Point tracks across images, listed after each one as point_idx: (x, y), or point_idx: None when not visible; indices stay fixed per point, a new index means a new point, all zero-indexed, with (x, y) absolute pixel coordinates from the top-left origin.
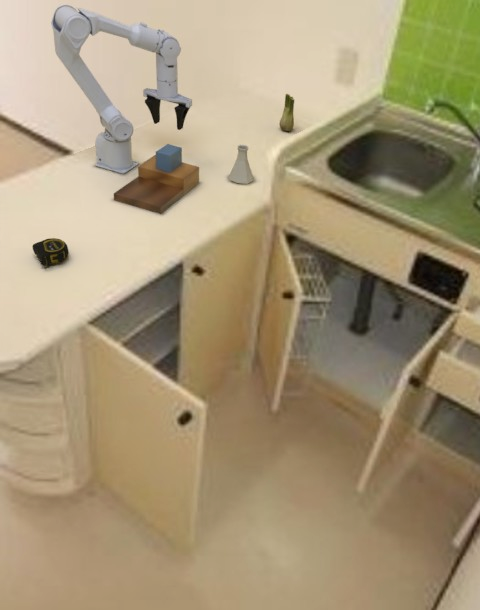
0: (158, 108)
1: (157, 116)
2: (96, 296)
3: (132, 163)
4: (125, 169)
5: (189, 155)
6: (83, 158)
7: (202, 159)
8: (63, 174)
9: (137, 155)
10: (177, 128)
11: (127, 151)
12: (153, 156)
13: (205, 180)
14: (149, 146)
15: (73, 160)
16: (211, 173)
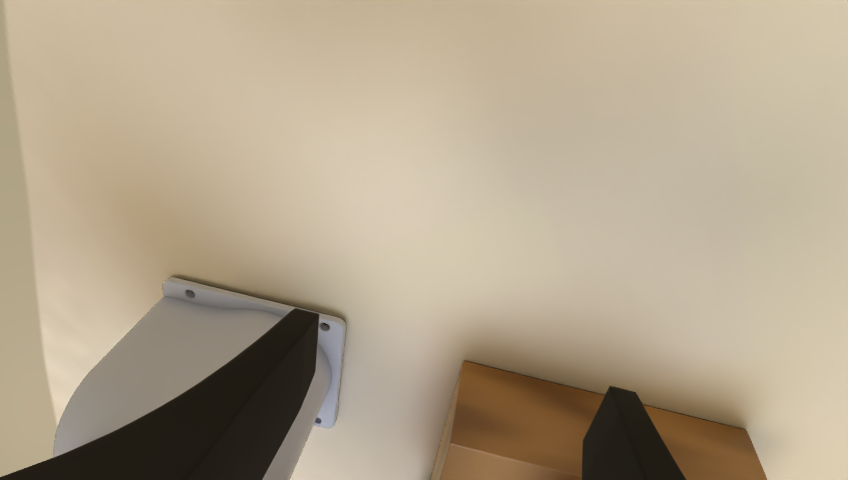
0: (232, 446)
1: (284, 396)
2: None
3: (318, 341)
4: (323, 403)
5: (628, 75)
6: (84, 324)
7: (757, 110)
8: None
9: (278, 211)
10: (586, 457)
11: (292, 472)
12: (449, 462)
13: (789, 397)
14: (269, 34)
15: (69, 352)
16: (837, 311)
